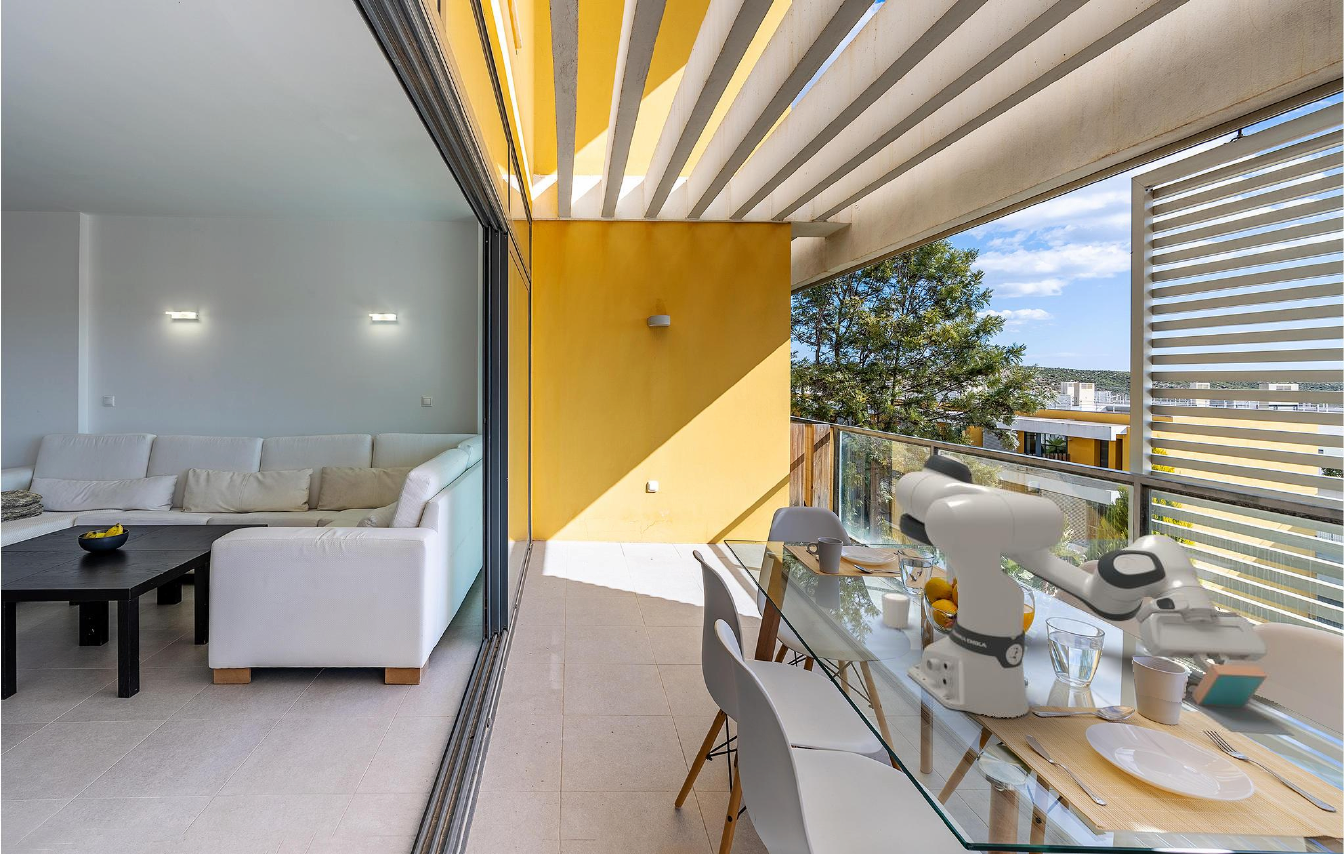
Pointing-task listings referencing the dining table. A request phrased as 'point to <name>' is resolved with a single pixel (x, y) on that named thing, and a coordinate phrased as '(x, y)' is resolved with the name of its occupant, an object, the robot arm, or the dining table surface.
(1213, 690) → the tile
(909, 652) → the dining table surface
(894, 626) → the white cylinder
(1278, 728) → the mat
